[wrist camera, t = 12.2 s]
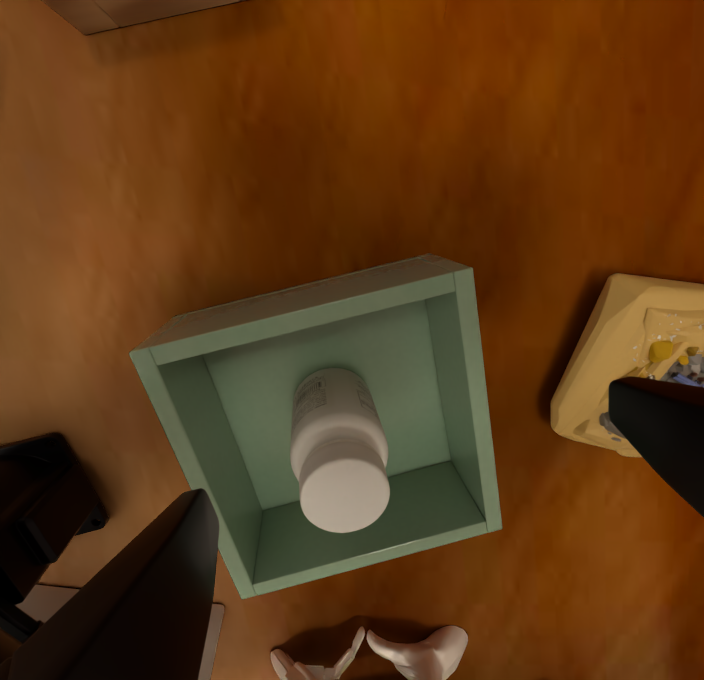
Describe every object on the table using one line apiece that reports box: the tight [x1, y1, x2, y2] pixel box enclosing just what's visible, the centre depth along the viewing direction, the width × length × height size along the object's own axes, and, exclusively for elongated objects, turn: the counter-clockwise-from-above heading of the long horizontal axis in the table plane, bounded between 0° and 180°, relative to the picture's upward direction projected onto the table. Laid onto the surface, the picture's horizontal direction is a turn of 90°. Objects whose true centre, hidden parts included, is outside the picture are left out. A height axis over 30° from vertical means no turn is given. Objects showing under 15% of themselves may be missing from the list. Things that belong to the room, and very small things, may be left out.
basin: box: [129, 253, 502, 599], centre depth 19 cm, size 14×14×6 cm
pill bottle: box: [290, 368, 390, 533], centre depth 18 cm, size 4×4×8 cm
